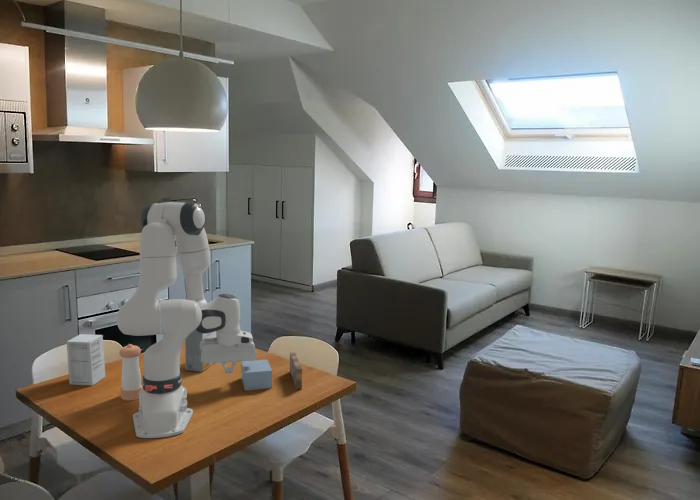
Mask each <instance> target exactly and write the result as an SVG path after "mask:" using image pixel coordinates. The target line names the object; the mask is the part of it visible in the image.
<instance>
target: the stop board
mask: <svg viewBox="0 0 700 500" xmlns="http://www.w3.org/2000/svg"><path fill="white" fill-rule="evenodd" d="M289 373H290V375H291V378H292V381H293V385H294V386H295V387H294V388H295V389H296V390H302V388H303V381H302V380H303V368H302V365H301V363H300V360H299V359H298V356H297V354H296V352H295V351H293V352H289Z"/></svg>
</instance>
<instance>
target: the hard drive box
mask: <svg viewBox="0 0 700 500" xmlns="http://www.w3.org/2000/svg"><path fill="white" fill-rule="evenodd" d="M205 338H207V339H208V338H216V331H215V332H211V333H207V334H203V333H200V332H198V331H197V330H196V329H195V330H194V331H193V332H192V333H190V334H189V336H188V337H187V338H186V339H185V341H184V343H185V347H184V348H185V352H184V354H185V356H184V357H185V362H184V363H185V370H186V371H192V372H199V373H200V372H204V371H206V370H207V369H209V367H211V366H212V365H214V363H207V364H203V363H202V362H201V351H202V350H201V349H200V341H201V340H204V339H205Z"/></svg>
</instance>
